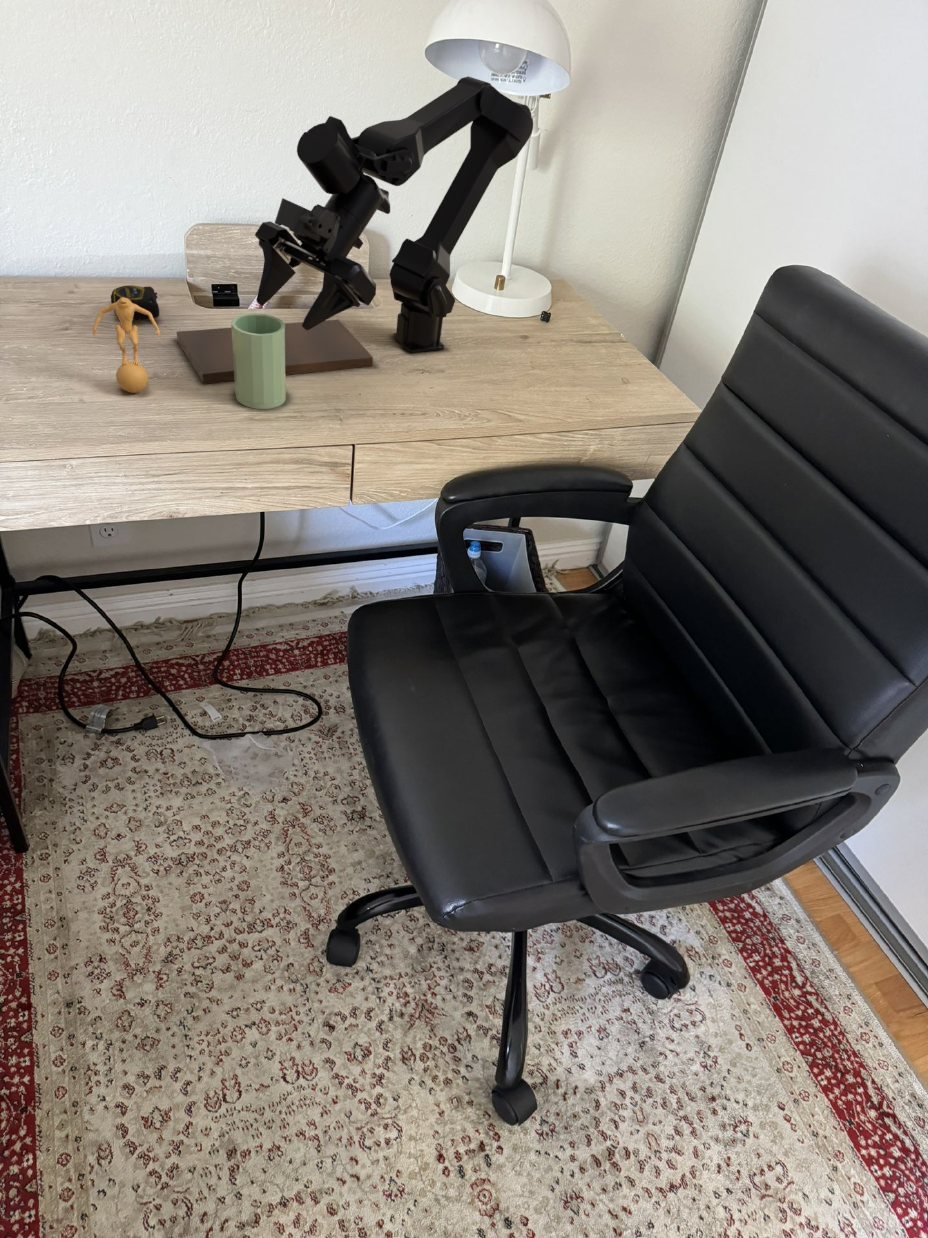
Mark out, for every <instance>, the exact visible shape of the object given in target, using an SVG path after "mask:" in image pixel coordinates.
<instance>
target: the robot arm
mask: <svg viewBox="0 0 928 1238" xmlns="http://www.w3.org/2000/svg"><path fill="white" fill-rule="evenodd" d="M469 124H470V129H469V133H470V134H469V135H470V137H469V139H470V140H469V141H470V142H469V143H470V145H469V150H468V153H467V154H466V156H465V158H464V160H463V161H462V163H461V165H460V166H459V169H458V171H457V172H456V174H455V176H454V178H453V180H452V181H451V183H450V185H449V187H448V188H447V190H446V193H445V194H444V196H443V197H442V200H441V202H440V204H439V205H438V207H437V208H436V211H435V213H434V214H433V216H432V218H431V219H430V222H429V223H428V225H427V227H426V229H425V231H424V232H423V234H422V236H420V237H418V238H417V239H415V240H411V239H410V238H405V239H404V240H403V241H402V243H401V246H400V248H399V250H398V252H397V254H396V255H395V257H394V258H393V259H391V263H392V266H391V268H390V270H389V273H388V275H389V279H390V285H391V289H392V294H393V299H394V300H395V301H398V302H400V312H399V313H398V314H397V317H396V318H397V319H396V329H395V330H396V331H395V333H393V338H395V339H396V341H398V342H399V343H400V344H401V346H403V348H404V349H406V351H407V352H409V353H420V352H421V353H422V352H430V351H441V350H445V345H444V344H443V343H442V342H441V339H442V338H441V336H442V329H443V328H442V327H443V322H444V318H447V315H448V314H451V313H452V311H453V308H454V306H455V303H456V298H455V297H454V295H453V293H452V292H451V291H450V289H449V288H448V287H447V284H448V282H449V280H450V276H451V255H452V253H453V250H454V249H455V247H456V245H457V243H458V242H459V240H460V238H461V236H462V235H463V233H464V231H465V229H466V227H467V225H468V223H470V220H471V218H472V217H473V215H474V213H475V211H476V209H477V207H478V206H479V204H480V202H481V200H482V198H483V197H484V195H485V193H486V191H487V190H488V187H489V186H490V184H491V182H492V180H493V178H494V176H495V175H496V173H497V171H498V170H499V169H500V168H502V167H503V166H505V165H507V164H508V163H510V162H511V161H513V160H514V159H516V158H517V157H518V155H519V154H520V153H521V151H522V150H523V148H524V147H525V146H526V144H527V143H528V142H529V139H530V138H531V136H532V133H533V130H534V119H533V118H532V111H531V108H530V107H529V106H528V105H526V104H523V103H520V102H518V101H517V102H516V101H514V100H512V99H510V98H509V97H507V96H506V95H504V94H503V93H501V92H500V91H499V90H498V89H496V87H494V86H493V85H492V84H491V83H490V82H488V81H485V80H482V79H478V78H475V77H472V76H469V75H468V76H465V77H464V76H463V77H461V78H460V79H459V80H458V81H457V83H456V85H454V86H453V87H451V88H450V89H448V90H446V91H445V92H443V93H442V94H440V95H439V96H437V97H436V98H434V99H433V100H431V101H429V102H428V103H427V104H425V105H423V106H422V107H421V108H419V109H417V110H416V111H414V112H413V113H411V114H410V115H408V116H406V117H404V118H402V119H395V120H386V121H381V122H378V123H376V124H373V125H370V126H368V127H366V128H365V129H363V130H362V131H361V132H360V134H359V135H358V136H354V137H351V136H350V134H349V131H348V130H347V129H348V128H347V127H346V125H345V123H344V122H343V120H342V119H340V118H337V117H335V116H332V115H330V116H328V117H327V119H326V120H325V122H322V123H318V124H316V125H313V126H312V127H311V128H309V129H308V130H307V131H304V132H303V133H302V135H301V136H300V138H299V140H298V143H297V146H296V154H297V157H298V158H299V160H300V162H301V163H302V164H303V166H304V167H305V168H306V170H307V171H308V173H310V175H311V176H312V178H313V179H314V180H315V182H316V183H317V184H318V186H319V187H320V188H321V190H322V191H323V192H324V193H325V194H328V195H331V196H330V197H329V199H328V200H327V202H326V203H325V205H324V206H322V205H320V204H318V203H317V204H315V205H314V206H313V207H312V209H311V210H310V209H308V208H305V207H304V206H302V205H299V204H297V203H294V202H292V201H290V200H288V199H286V198H284V197H282V198H281V201H280V203H279V207H278V211H277V214H276V217H275V220H274V222H273V221H271V220H270V221H263V222H262V223H261V224H260V225H259V227H258V229H256V232H255V234H254V236H255V237H256V239H258V246H259V247H260V248H261V249H262V253H263V259H264V261H263V267H262V274H261V278H260V282H259V287H258V291H257V295H256V299H255V302H256V303H258V305H259V306H261V307H263V306H264V305H265V304H266V303H268V302H269V301H270V300H271V299H272V298H273V297H274V296H275V295H276V294H277V293H278V292H279V291H280V290H281V289H282V288H283V286H285V285H286V284H287V283H288V282H289V281H290V280H291V279H292V277H293V276H294V275H295V274H296V270H295V269H293V268H296V267H298V266H300V265H301V264H304V265H305V266H308V267H310V268H312V269H314V270H316V271H318V272H320V273H322V274H323V280H322V288H321V290H320V292H319V293H318V295H317V297H316V298H315V300H314V302H313V303H312V305H311V307H310V308H309V310H308V312H307V313H306V315H305V317H304V320H303V321H302V322H303V324H302V327H303V328H304V329H305V330H310V329H311V328H313V327H315V326H316V325H318V324H320V323H322V322H323V321H325V320H330V319H332V318H333V317H334V316H336V315H338V314H340V313H342V312H344V311H347V310H349V309H351V308H353V307H355V308H359V307H360V306H361V303H362V304H364V305H366V306H370V305H371V303H372V301H373V300H374V298H375V297H376V295H377V284H376V282H375V281H374V279H373V278H372V276H371V275H369V273H368V272H367V270H366V269H365V268H364V267H363V265H362V264H361V263H358V262H356V261H354V260H353V259H351V258H349V257H348V255H349V254H350V253H351V251H352V249H353V248H355V249H357V250H360V249H361V247H362V246H363V245H364V242H363V241H362V239H361V238H360V237H361V236H362V234H363V232H364V231H365V229H366V228H367V226H368V225H369V223H370V222H371V220H372V218H373V217H374V215H375V214H376V212H377V211H380V212H382V213H383V214H386V215H389V214H390V213H391V203H390V199H389V198H390V197H389V196H390V192H389V190H386V189H384V188H381V187H380V186H379V185H378V184H377V182H376V180H375V179H377V180H379V181H382V182H384V183H387V184H389V185H390V186H391V185H392V186H394V187H401V186H402V185H404V184H406V183H407V181H409V180H410V179H411V178H412V177H413V176H414V175H415V173H417V172H418V171H419V170H420V169H421V167H422V163H423V161H424V157H425V155H426V154H428V153H429V152H430V151H431V150H432V149H435V148H436V147H437V146H438V145H440V144H442V143H443V142H444V141H446V140H447V139H449V138H450V137H453V135H455V134H456V133H457V132H459V131H460V130H462V129H464V128H465V127H467V126H468V125H469ZM374 178H375V179H374ZM287 228H288V229H287ZM291 232H292V234H291ZM295 238H296V239H295ZM298 241H299V242H300V243H301V244H300V243H299V242H298Z"/></svg>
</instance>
